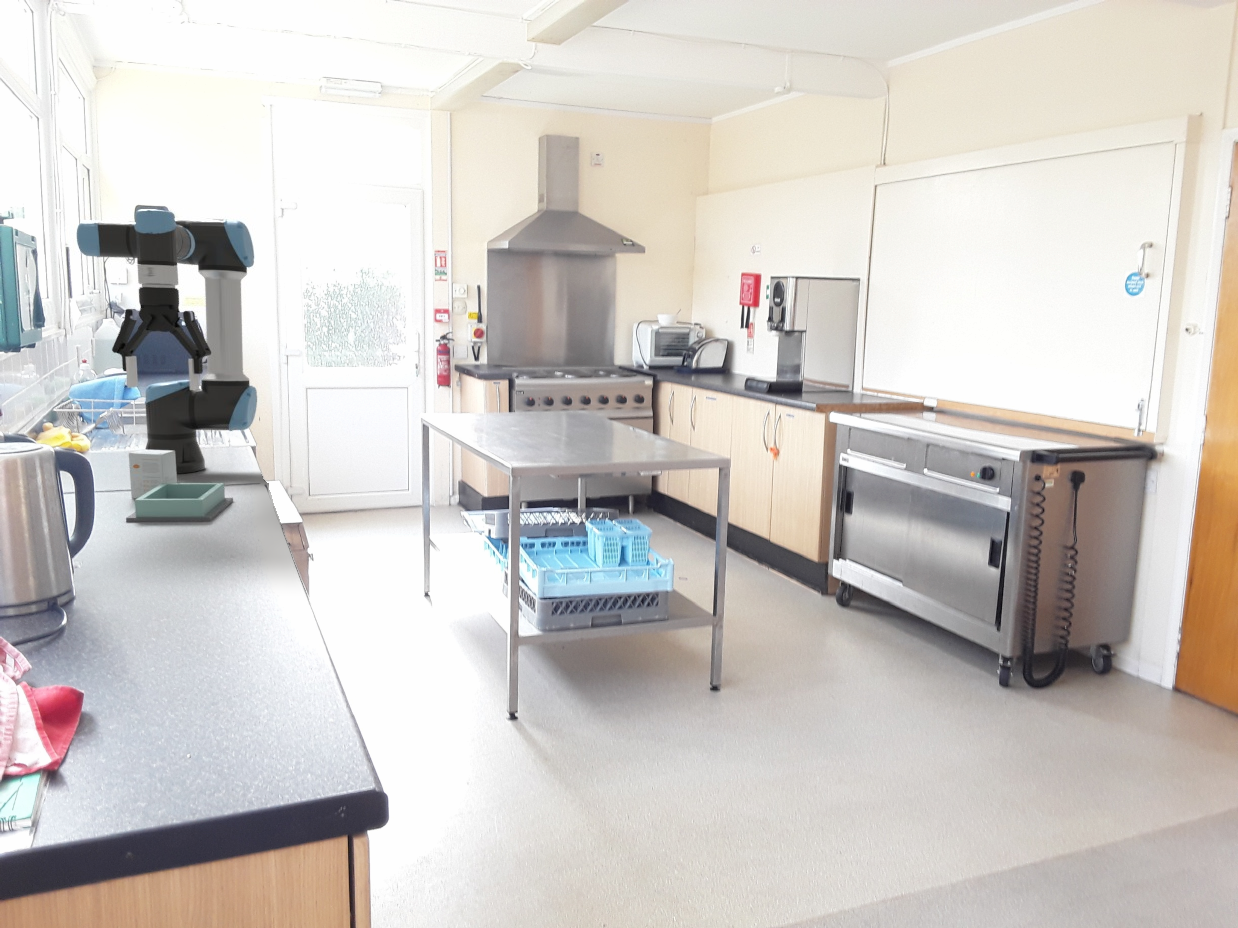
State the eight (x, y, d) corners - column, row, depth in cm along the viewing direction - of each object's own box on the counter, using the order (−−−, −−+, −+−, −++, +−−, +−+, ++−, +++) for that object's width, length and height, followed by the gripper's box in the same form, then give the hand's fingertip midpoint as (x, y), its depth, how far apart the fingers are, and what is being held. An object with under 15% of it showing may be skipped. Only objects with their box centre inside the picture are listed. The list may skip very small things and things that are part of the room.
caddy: (157, 501, 210) (156, 482, 209) (233, 501, 212) (232, 482, 212) (126, 521, 190) (125, 500, 190) (210, 521, 193) (209, 500, 192)
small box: (178, 495, 217) (176, 450, 215) (164, 500, 211) (162, 454, 210) (145, 493, 218) (143, 448, 216) (130, 498, 212) (128, 452, 210)
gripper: (89, 284, 194) (96, 387, 197) (207, 288, 192) (212, 392, 196) (111, 285, 201) (117, 384, 205) (225, 288, 200) (229, 389, 203)
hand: (163, 388), depth 200 cm, fingers open, 13 cm apart
